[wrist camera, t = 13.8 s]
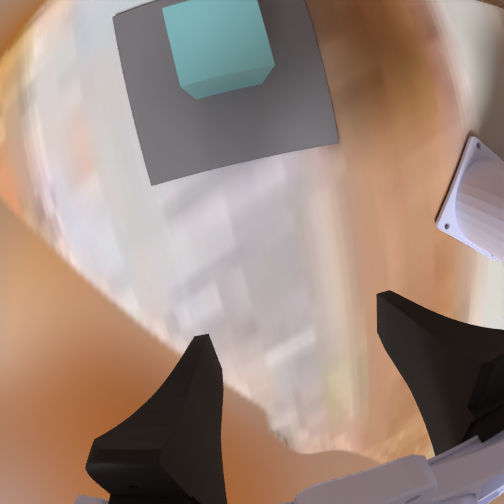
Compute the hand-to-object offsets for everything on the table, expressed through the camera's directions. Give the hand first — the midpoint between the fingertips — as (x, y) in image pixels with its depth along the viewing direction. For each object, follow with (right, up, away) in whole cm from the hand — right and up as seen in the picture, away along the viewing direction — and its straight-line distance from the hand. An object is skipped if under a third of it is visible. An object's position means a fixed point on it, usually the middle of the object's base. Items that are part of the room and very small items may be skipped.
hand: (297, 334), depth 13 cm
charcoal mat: (-4, +14, +4) cm, 15 cm away
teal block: (-4, +15, +4) cm, 16 cm away
